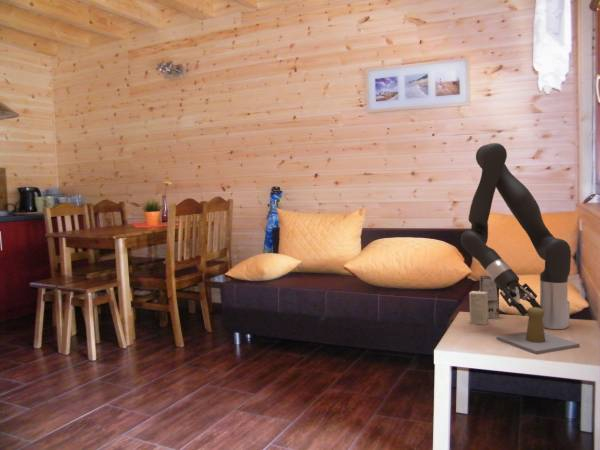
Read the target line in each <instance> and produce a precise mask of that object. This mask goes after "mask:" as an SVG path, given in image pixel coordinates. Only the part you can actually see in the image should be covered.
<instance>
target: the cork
mask: <svg viewBox="0 0 600 450" xmlns="http://www.w3.org/2000/svg"><path fill="white" fill-rule="evenodd" d="M526 310H527V311H528V313H527V314H526V315H527V318H528V321H527V327H526V332H527V334H526V340H527V341H529V342H535V343H542V342H545V335H544V333H545V330H544V327H543V320H542V318H543V316H544V311H543V309H541V308H537V307H532V306H531V307H528V308H527V309H526Z"/></svg>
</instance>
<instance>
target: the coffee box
mask: <svg viewBox="0 0 600 450" xmlns="http://www.w3.org/2000/svg"><path fill="white" fill-rule="evenodd" d="M479 291H481V292H488V319H494V320H497V319H500V289H499V288H498V286H497V285H496V284H495V283H494V281H493V280H492V279H491V278H490V276H489V275H479Z"/></svg>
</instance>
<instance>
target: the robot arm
mask: <svg viewBox="0 0 600 450" xmlns="http://www.w3.org/2000/svg"><path fill="white" fill-rule="evenodd" d="M475 153H476V154H475V160H476V163H477V165H478V166H479V168H481V175H480V179H479V183H478V185H477V187H476V190H475V193H474V195H473V197H472V200H471V204H470V209H469V213H468V222H469V223H470V224H471V226H470V227H471V229H469V230H466V231H464V232H463V233H462V234H461V236H460V243H461V246H462V247H463V249H464V250H465V251H466V252H467V253H468V254H470V256H472V257H473V258H474V259H475V260H476V261H477V262H478V263H479V264H480V265H481V267H482V268H483V269H484V271H486V273H487V276H490V278H491V279H492V280H493V281H494V283H495V284H496V285H497V286H498V288H499V296H501V297H502V299H503V300H504V301H505V302H506V305H508V307H509V308H511V307H513V308H515V309H516V310H517V311H518V312H519V314H520V315H521V316H522V317H523V316H524V317H525V316H526V315H527V313H528V311H527V310H528V309H526V308H525V306H524V305H523V304H522V303H521V301H520V300H522V301H526V302H527V303H529V305H531V307H537V308H541V309H543V311H544V316H543V318H542V320H543V327H544V328H545V329H550V330H566V329H567V328H569V327H570V301H569V300H568V296H569V295H568V292H569V291H568V289H569V288H568V284H569V283H568V279H569V276H570V274H571V273H570V272H571V266H572V265H571V262H572V261H571V260H572V259H571V258H572V251H571V250H572V249H571V246H570V244H569V242H567V241H566V240H564V239H562V238H558V237H555V236H554V235H553V234H552V233H551V232H550V230H549V229H548V226H546V225H545V222H544V220H543V217H542V213H541V209H540V206H539V204H538V202H537V201H536V199H535V197H534V196H533V195H532V193H531V192H530V190H529V189H528V188H527V187H526V186H525V184H523V182H522V181H520V180H519V179H518V178H516V176H514V174H513V173H512V172H511V171H510V170H509V168H508V167H507V165H506V162H507V161H506V160H507V158H508V153H507V150H506V148H505V146H504V145H502V144H501V143H498V142H497V143H496V142H492V143H488V144H484V145H481V146H480V147H479V148H478V149H477V150H476V152H475ZM496 189H497V191H498V193H499V194H500V196H501V198H502V199H503V201H504V203H505V204H506V206H507V208H508V209H509V211H510V212H511V213H512V215H513V216H514V218H515V219H516V220H517V222H518V223H519V225H520V227H522V229H523V230H524V232H525V233H526V235H527V236H528V239H529V240H530V242H531V244H532V245H533V247H534V249H535V251H536V254H537V255H538V257H539V258H540V259H542V260H544V269H543V271H541V272H540V274H539V275H540V276H539V302H538V301H537V300H536V298H537V297H538V295H537V293H536V292H535V291H534V290H533V289H532V287H530V286H529V285H528V284H527V283H524V284H520V282H519V281H520V277H519V276H518V275H517V274H516V272H515V271H514V270H513V269H512V268H511V267H510V266H509V264H508V263H507V262H506V261H505V260H504V259H502V257H501V256H500V255H499V253H498V252H496V250H495V249H494V248H492V247H489V246H488V245H487V242H488V241H489V240H488V239H489V225H488V224H489V220H490V219H489V217H490V215H491V214H490V213H491V210H492V209H491V208H492V205H493V204H492V203H493V200H494V196H495V192H496Z"/></svg>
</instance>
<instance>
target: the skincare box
mask: <svg viewBox="0 0 600 450" xmlns="http://www.w3.org/2000/svg"><path fill="white" fill-rule="evenodd" d="M468 297H469V324H472V325H473V324H474V325H485V326H486V325H487V324H488V323H489V318H488V292H481V291H480V290H477V291H476V290H471V291H470V292H469V293H468Z"/></svg>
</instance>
